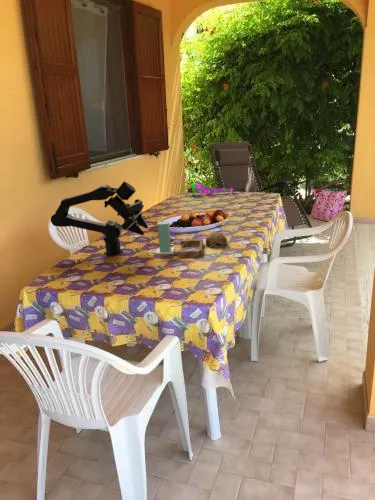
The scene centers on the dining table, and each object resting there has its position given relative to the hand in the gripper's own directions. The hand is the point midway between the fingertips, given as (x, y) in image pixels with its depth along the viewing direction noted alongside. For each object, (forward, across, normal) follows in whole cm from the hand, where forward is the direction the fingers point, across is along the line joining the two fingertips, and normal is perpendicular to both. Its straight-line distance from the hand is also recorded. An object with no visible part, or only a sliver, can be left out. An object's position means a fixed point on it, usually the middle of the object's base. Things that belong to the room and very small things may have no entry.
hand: (145, 231), depth 198 cm
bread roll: (+29, +9, -16) cm, 34 cm away
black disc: (+17, -5, -5) cm, 19 cm away
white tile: (+13, -1, 0) cm, 13 cm away
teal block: (+13, -1, 0) cm, 13 cm away
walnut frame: (+21, 0, -9) cm, 23 cm away
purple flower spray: (+28, +130, -6) cm, 133 cm away
